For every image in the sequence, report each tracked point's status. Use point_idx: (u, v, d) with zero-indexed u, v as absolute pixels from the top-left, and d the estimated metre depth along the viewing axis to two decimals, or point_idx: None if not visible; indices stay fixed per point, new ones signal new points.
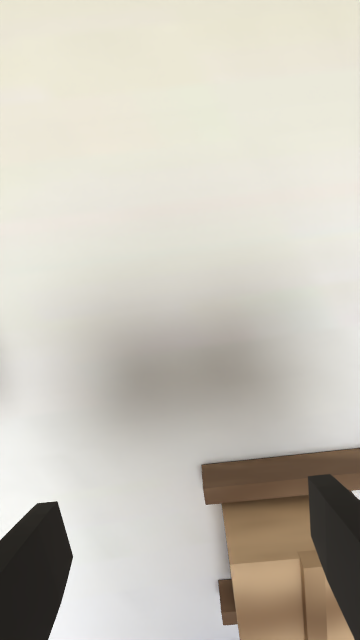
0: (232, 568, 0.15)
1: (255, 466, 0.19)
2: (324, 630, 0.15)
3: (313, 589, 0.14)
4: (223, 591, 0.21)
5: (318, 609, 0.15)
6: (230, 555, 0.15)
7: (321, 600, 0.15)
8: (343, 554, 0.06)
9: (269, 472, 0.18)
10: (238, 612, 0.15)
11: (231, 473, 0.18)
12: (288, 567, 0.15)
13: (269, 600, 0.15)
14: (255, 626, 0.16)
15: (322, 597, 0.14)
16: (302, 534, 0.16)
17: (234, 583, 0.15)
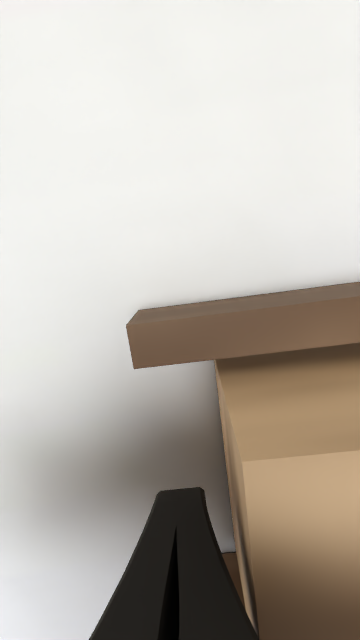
0: (248, 475, 0.05)
1: (250, 299, 0.09)
2: None
3: None
4: None
5: None
6: (241, 442, 0.05)
7: None
8: None
9: (281, 300, 0.08)
10: (262, 616, 0.05)
11: (196, 309, 0.08)
12: None
13: (357, 580, 0.05)
14: None
15: None
16: None
17: (253, 526, 0.05)
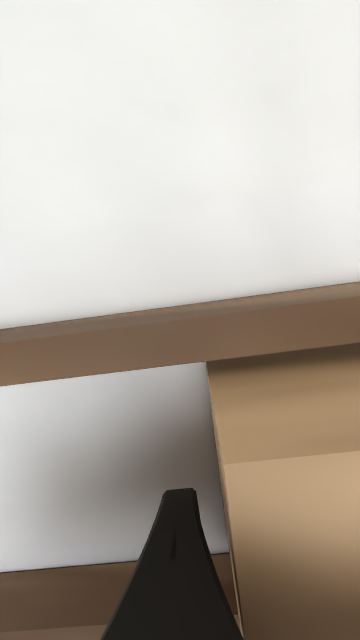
0: (230, 478, 0.05)
1: None
2: None
3: None
4: None
5: None
6: (224, 445, 0.05)
7: None
8: None
9: None
10: (247, 618, 0.05)
11: None
12: None
13: (342, 581, 0.05)
14: None
15: None
16: None
17: (236, 529, 0.05)
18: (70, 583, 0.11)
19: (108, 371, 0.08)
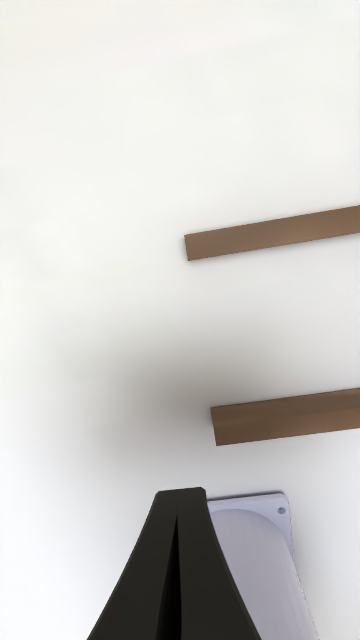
0: None
1: None
2: None
3: None
4: (216, 414, 0.17)
5: None
6: None
7: None
8: None
9: None
10: None
11: None
12: None
13: None
14: None
15: None
16: None
17: None
18: (292, 402, 0.17)
19: None
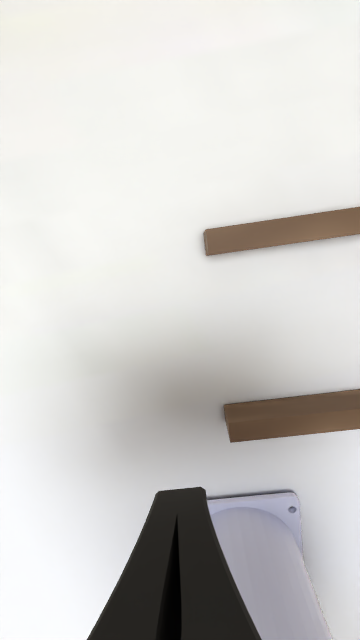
0: None
1: None
2: None
3: None
4: (230, 410, 0.17)
5: None
6: None
7: None
8: None
9: None
10: None
11: None
12: None
13: None
14: None
15: None
16: None
17: None
18: (307, 400, 0.17)
19: None
